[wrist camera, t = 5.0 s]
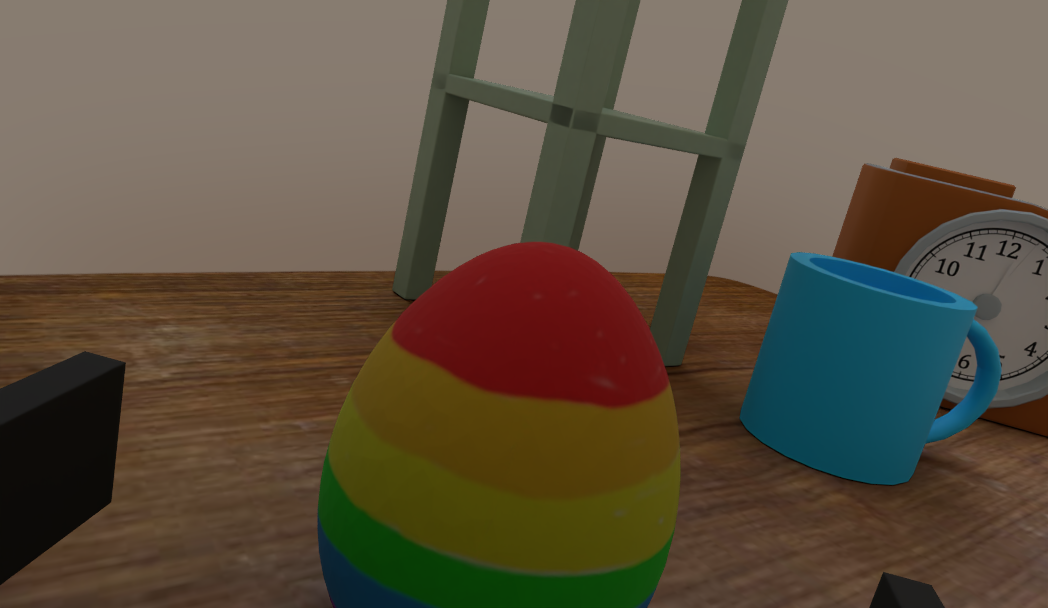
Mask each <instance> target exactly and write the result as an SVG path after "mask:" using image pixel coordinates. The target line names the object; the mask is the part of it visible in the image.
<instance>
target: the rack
mask: <svg viewBox="0 0 1048 608" xmlns="http://www.w3.org/2000/svg"><path fill="white" fill-rule="evenodd" d="M787 3H788V0H742V3H741V6H740V9H739V13H738V17H737V20H736V24H735V28H734V31H733V34H732V38H731V41H730V45H729V49H728V52H727V56H726V59H725V63H724V66H723V70H722V74H721V77H720V81H719V84H718V88H717V91H716V95H715V99H714V102H713V106H712V109H711V113H710V116H709V120H708V124H707V127H706V131H705V133H702V132H698V131H694V130H690V129H687V128H683V127H679V126H675V125H671V124H667V123H663V122H659V121H655V120H651V119H647V118H643V117H639V116H635V115H631V114H628V113H624V112H619V111H616V110H613V108H614V104H615V100H616V96H617V92H618V88H619V84H620V80H621V76H622V72H623V68H624V64H625V60H626V56H627V52H628V48H629V44H630V39H631V36H632V32H633V27H634V24H635V20H636V16H637V12H638V8H639V4H640V0H576V2H575V6H574V11H573V15H572V20H571V24H570V28H569V33H568V38H567V41H566V46H565V50H564V54H563V59H562V64H561V67H560V72H559V76H558V80H557V85H556V89H555V94H554V96H551V95H546V94H542V93H537V92H533V91H528V90H524V89H519V88H515V87H510V86H506V85H501V84H496V83H492V82H487V81H483V80H479V79H474V74H475V69H476V64H477V60H478V54H479V49H480V44H481V40H482V35H483V30H484V25H485V20H486V15H487V10H488V5H489V0H447V5H446V10H445V16H444V21H443V27H442V31H441V37H440V42H439V47H438V52H437V58H436V63H435V68H434V74H433V79H432V84H431V89H430V94H429V100H428V105H427V110H426V115H425V121H424V126H423V131H422V137H421V142H420V147H419V153H418V157H417V163H416V168H415V173H414V178H413V184H412V189H411V194H410V200H409V205H408V210H407V215H406V221H405V226H404V231H403V236H402V241H401V247H400V252H399V258H398V262H397V268H396V273H395V278H394V283H393V289H392V290H393V291H394V292H396V293H397V294H398V295H400V296H401V297H403V298H404V299H417V298H418V297H419V296H420V295H422V294H423V293H424V292H425V291H426V290H428V289H429V288H430V287H431V286H432V281H433V276H434V271H435V266H436V261H437V256H438V251H439V247H440V242H441V237H442V231H443V227H444V222H445V217H446V212H447V207H448V202H449V197H450V192H451V187H452V183H453V177H454V173H455V168H456V163H457V158H458V152H459V148H460V143H461V138H462V133H463V128H464V124H465V119H466V113H467V108H468V104H469V100H471V101H474V102H478V103H481V104H484V105H488V106H491V107H494V108H498V109H501V110H505V111H508V112H511V113H515V114H518V115H521V116H525V117H528V118H532V119H535V120H538V121H541V122H545V123H548V124H547V129H546V133H545V137H544V142H543V146H542V150H541V155H540V159H539V163H538V168H537V172H536V176H535V181H534V185H533V189H532V194H531V198H530V203H529V207H528V212H527V216H526V220H525V224H524V229H523V233H522V237H521V242H520V243H525V242H548V243H555V244H559V245H563V246H566V247H570V248H572V249H575V250H577V251H578V249H579V244H580V240H581V237H582V232H583V229H584V225H585V221H586V217H587V212H588V208H589V204H590V200H591V196H592V192H593V188H594V184H595V180H596V176H597V172H598V168H599V164H600V160H601V156H602V152H603V148H604V144H605V140H606V137H609V138H614V139H621V140H625V141H630V142H635V143H641V144H647V145H651V146H657V147H662V148H667V149H672V150H677V151H683V152H688V153H693V154H698V155H699V156H698V159H697V163H696V166H695V170H694V174H693V177H692V181H691V184H690V188H689V191H688V195H687V199H686V202H685V206H684V209H683V213H682V216H681V220H680V224H679V227H678V231H677V235H676V238H675V242H674V245H673V249H672V252H671V256H670V260H669V263H668V267H667V270H666V274H665V277H664V281H663V284H662V288H661V291H660V295H659V299H658V302H657V306H656V309H655V313H654V316H653V320H652V323H651V327H650V331H651V333H652V335H653V338H654V340H655V342H656V344H657V347H658V349H659V352H660V354H661V357H662V360H663V363H664V366H675V365H681V363H682V360H683V357H684V353H685V350H686V346H687V343H688V340H689V336H690V333H691V329H692V326H693V323H694V319H695V316H696V312H697V309H698V306H699V302H700V299H701V295H702V292H703V289H704V285H705V282H706V278H707V275H708V271H709V268H710V265H711V261H712V258H713V255H714V251H715V248H716V244H717V240H718V238H719V234H720V231H721V227H722V224H723V221H724V217H725V214H726V210H727V207H728V203H729V200H730V197H731V193H732V190H733V187H734V183H735V180H736V176H737V173H738V170H739V166H740V163H741V159H742V156H743V153H744V149H745V146H746V142H747V139H748V135H749V132H750V129H751V125H752V122H753V118H754V115H755V112H756V108H757V105H758V102H759V98H760V95H761V91H762V88H763V84H764V81H765V78H766V74H767V71H768V67H769V64H770V61H771V57H772V54H773V51H774V47H775V44H776V40H777V37H778V34H779V30H780V27H781V23H782V20H783V17H784V13H785V10H786V6H787Z"/></svg>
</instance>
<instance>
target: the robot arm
mask: <svg viewBox="0 0 1048 608" xmlns="http://www.w3.org/2000/svg"><path fill="white" fill-rule="evenodd" d="M125 364H126V363H125V362H122V361H118V360H114V359H111V358H107V357H104V356H100V355H96V354H93V353H89V352H86V351H85V352H82V353H80V354H78V355H76V356H73V357H71V358H69V359H67V360H64V361H62V362H60V363H57V364H55V365H53V366H51V367H48V368H46V369H44V370H42V371H39V372H37V373H35V374H33V375H30V376H28V377H26V378H24V379H21V380H19V381H17V382H15V383H12V384H10V385H8V386H6V387H3V388H1V389H0V585H1V584H2V583H4V582H5V581H6V580H8V579H9V578H10V577H12V576H13V575H14V574H16V573H17V572H18V571H20V570H21V569H22V568H24V567H25V566H26V565H28V564H29V563H30V562H32V561H33V560H34V559H36V558H37V557H38V556H40V555H41V554H42V553H44V552H45V551H46V550H48V549H49V548H51V547H52V546H53V545H55V544H56V543H57V542H59V541H60V540H61V539H63V538H64V537H65V536H67V535H68V534H69V533H71V532H72V531H73V530H75V529H76V528H77V527H79V526H80V525H81V524H83V523H84V522H85V521H87V520H88V519H89V518H91V517H92V516H93V515H95V514H96V513H97V512H99V511H100V510H101V509H103V508H104V507H105V506H107V505H108V504H109V503H111V499H112V489H113V480H114V470H115V461H116V451H117V441H118V432H119V422H120V413H121V403H122V393H123V384H124V374H125ZM870 608H945V607H944V606H943V604H942V602H941V601H940V599H939V597H938V595H937V594H936V592H935V590H934V589H933V587H932V585H929V584H925V583H922V582H918V581H914V580H911V579H907V578H903V577H900V576H896V575H893V574H889V573H885V572H883V574H882V577H881V579H880V582H879V585H878V587H877V590H876V592H875V595H874V597H873V600H872V602H871V605H870Z"/></svg>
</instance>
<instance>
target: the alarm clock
mask: <svg viewBox="0 0 1048 608" xmlns="http://www.w3.org/2000/svg"><path fill="white" fill-rule="evenodd" d="M1015 189H1016V187H1015V186H1014V185H1010V184H1006V183H1001V182H997V181H993V180H989V179H984V178H980V177H976V176H972V175H967V174H962V173H959V172H955V171H950V170H946V169H942V168H937V167H933V166H929V165H924V164H920V163H916V162H912V161H907V160H903V159H898V158H894V159H893V160H892V163H891V166H890V168H886V167H882V166H878V165H873V164H868V163H867V164H864V165H863V166H862V170H861V172H860V175H859V178H858V181H857V185H856V187H855V190H854V193H853V196H852V199H851V203H850V205H849V208H848V211H847V214H846V217H845V220H844V223H843V226H842V229H841V232H840V235H839V238H838V241H837V245H836V247H835V250H834V253H833V256H832V257H836V258H840V259H845V260H849V261H854V262H858V263H862V264H866V265H870V266H873V267H877V268H881V269H885V270H888V271H891V272H895V273H898V274H901V275H904V276H908V277H911V278H914V279H917V280H920V281H923V282H926V283H929V284H932V285H935V286H937V287H940V288H942V289H945V290H947V291H950V292H952V293H955V294H957V295H959V296H961V297H963V298H965V299H967V300H969V301H971V302H973V303H974V304H975V305H976V306H977V307H978V309H977V311H976V314H975V316H974V320H975V321H977V322H978V323H979V324H981V325H982V326H983V327H984V328H985V329H986V330H987V331H988V333H989V335H990V336H991V338H992V340H993V341H994V343H995V344H996V346H997V348H998V351H999V357H1000V363H1001V369H1002V372H1001V377H1000V381H999V386H998V391H997V393H996V395H995V397H994V398H993V400H992V401H991V403H990V405H989V406H988V408H987V410H986V411H985V412H984V413H983V414H982V415H981V416H980V417H979V418H983V419H986V420H990V421H993V422H997V423H1001V424H1004V425H1008V426H1011V427H1015V428H1018V429H1022V430H1025V431H1029V432H1032V433H1036V434H1039V435H1043V436H1047V437H1048V209H1046V208H1043V207H1041V206H1038V205H1035V204H1032V203H1029V202H1025V201H1021V200H1018V199H1014V198H1012V197H1013V194H1014V191H1015ZM976 369H977V360H976V355H975V349H974V347H973V345H972V344H971V342H970V341H969V339H968V337H966V339H965V342H964V345H963V347H962V350H961V352H960V355H959V358H958V360H957V363H956V365H955V368H954V370H953V373H952V376H951V378H950V381H949V383H948V386H947V388H946V391H945V394H944V396H943V399H942V401H941V404H940V407H944V408H947V409H951V410H952V409H953V408H954V407H955V406H957V405H958V404H959V403H960V402H961V401H962V400H963V399H964V398H965V396H966V394H967V393H968V391H969V389H970V388H971V386H972V384H973V383H974V379H975V374H976Z"/></svg>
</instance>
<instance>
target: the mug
mask: <svg viewBox="0 0 1048 608" xmlns="http://www.w3.org/2000/svg"><path fill="white" fill-rule="evenodd" d="M977 309H978V307H977V306H976V305H975V304H974V303H973V302H971V301H969V300H967V299H965V298H963V297H961V296H959V295H957V294H955V293H952V292H950V291H947V290H945V289H942V288H940V287H937V286H935V285H932V284H929V283H926V282H923V281H920V280H917V279H914V278H911V277H908V276H904V275H901V274H898V273H895V272H891V271H888V270H885V269H881V268H877V267H873V266H870V265H866V264H862V263H858V262H854V261H849V260H845V259H840V258H836V257H831V256H825V255H819V254H812V253H802V252H797V253H791V255H790V258H789V261H788V264H787V268H786V271H785V274H784V277H783V280H782V283H781V286H780V290H779V293H778V296H777V299H776V302H775V305H774V308H773V311H772V315H771V318H770V321H769V324H768V327H767V330H766V333H765V336H764V340H763V343H762V346H761V349H760V352H759V355H758V358H757V361H756V365H755V368H754V371H753V374H752V377H751V380H750V383H749V387H748V390H747V393H746V396H745V399H744V402H743V405H742V408H741V413H740V420H741V421H742V423H743V424H744V426H745V427H746V429H747V430H748V431H749V432H751V433H752V434H753V435H754V436H755V437H757V438H758V439H759V440H760V441H761V442H763V443H764V444H766V445H768V446H770V447H771V448H773V449H775V450H776V451H778V452H780V453H781V454H783V455H785V456H787V457H789V458H792V459H794V460H796V461H798V462H801V463H803V464H805V465H807V466H810V467H812V468H815V469H818V470H821V471H824V472H827V473H830V474H833V475H836V476H839V477H842V478H846V479H851V480H856V481H861V482H866V483H870V484H888V485H895V484H899V483H903V482H907V481H909V479H910V478H911V477H912V475H913V474H914V471H915V468H916V466H917V463H918V461H919V458H920V455H921V453H922V450H923V448H924V445H925V444H926V443H930V442H935V441H939V440H943V439H946V438H948V437H950V436H952V435H954V434H956V433H958V432H960V431H962V430H964V429H966V428H968V427H969V426H970V425H971V424H972V423H973V422H974V421H975V420H976V419H978V418H979V417H980V416H981V415H982V414H983V413H984V412H985V411H986V410H987V408H988V406H989V405H990V403H991V401H992V400H993V398H994V397H995V395H996V393H997V391H998V386H999V381H1000V377H1001V372H1002V369H1001V363H1000V357H999V351H998V348H997V346H996V344H995V343H994V341H993V340H992V338H991V336H990V335H989V333H988V331H987V330H986V329H985V328H984V327H983V326H982V325H981V324H979V323H978V322H977V321H975V320H974V316H975V314H976V311H977ZM966 337H968V339H969V341H970V342H971V344H972V345H973V347H974V349H975V355H976V360H977V369H976V374H975V379H974V383H973V384H972V386H971V388H970V389H969V391H968V393H967V394H966V396H965V398H964V399H963V400H962V401H961V402H960V403H959V404H958V405H957V406H955V407H954V408H953V409H952V410H951V411H950V412H949V413H947V414H945V415H943V416H941V417H939V418H937V419H936V420H934V419H935V417H936V414H937V412H938V409H939V407H940V404H941V401H942V399H943V396H944V394H945V391H946V388H947V386H948V383H949V381H950V378H951V376H952V373H953V370H954V368H955V365H956V363H957V360H958V358H959V355H960V352H961V350H962V347H963V345H964V342H965V339H966Z"/></svg>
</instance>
